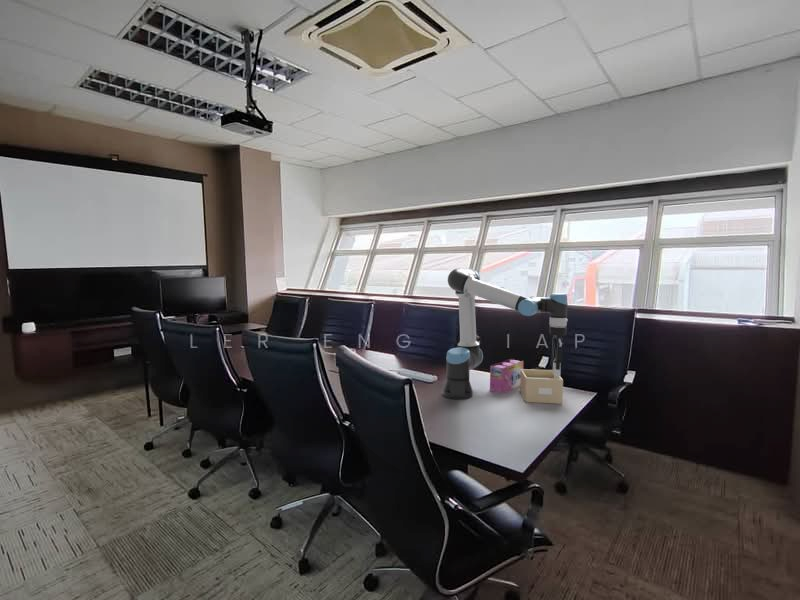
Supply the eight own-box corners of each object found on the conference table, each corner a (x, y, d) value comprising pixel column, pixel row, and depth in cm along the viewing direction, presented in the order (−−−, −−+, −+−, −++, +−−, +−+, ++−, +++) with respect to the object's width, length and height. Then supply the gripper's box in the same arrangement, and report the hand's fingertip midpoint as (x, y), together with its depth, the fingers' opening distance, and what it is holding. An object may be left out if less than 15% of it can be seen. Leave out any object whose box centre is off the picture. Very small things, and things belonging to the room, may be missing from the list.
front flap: (526, 402, 190) (527, 358, 188) (525, 401, 192) (526, 357, 190) (562, 404, 188) (564, 359, 186) (561, 402, 190) (563, 358, 188)
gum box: (512, 381, 227) (512, 358, 225) (524, 384, 221) (525, 360, 220) (489, 390, 210) (489, 365, 209) (502, 393, 204) (503, 368, 203)
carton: (525, 401, 192) (525, 377, 191) (520, 391, 208) (520, 368, 208) (561, 403, 189) (562, 379, 188) (553, 392, 206) (554, 369, 205)
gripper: (570, 328, 178) (568, 380, 180) (562, 324, 193) (561, 371, 195) (553, 328, 179) (551, 379, 181) (546, 323, 194) (545, 370, 196)
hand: (556, 375), depth 188 cm, fingers closed on front flap, 2 cm apart
